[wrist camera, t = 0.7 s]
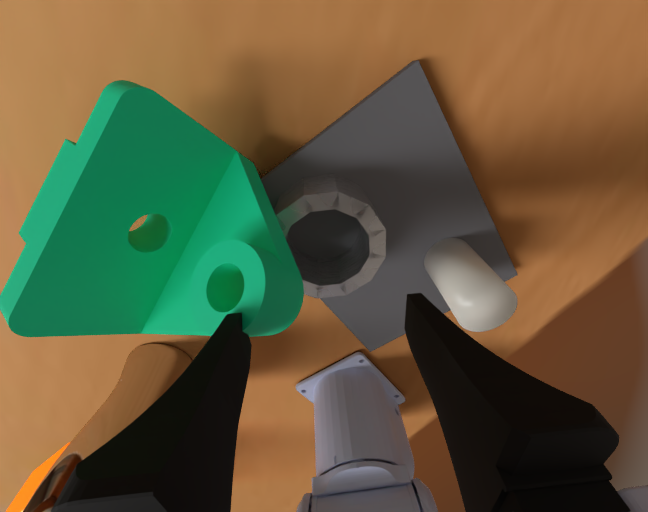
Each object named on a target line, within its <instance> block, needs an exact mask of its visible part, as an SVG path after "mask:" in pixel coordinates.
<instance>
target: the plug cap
mask: <svg viewBox="0 0 648 512" xmlns="http://www.w3.org/2000/svg"><path fill="white" fill-rule="evenodd" d="M424 266H425V269H426V271H427V272H428V274H429V276H430V277H431V279H432V280H433V282H434V284H435V285H436V287H437V288H438V290H439V292H440V293H441V295H442V296H443V298H444V300H445V301H446V303H447V305H448V306H449V308H450V309H451V311H452V313H453V314H454V316H455V317H456V319H457V321H458V322H459V324H460V325H461V326H462V327H463V328H465V329H467V330H469V331H474V332H482V331H488V330H491V329H494V328H496V327H498V326H500V325H502V324H503V323H505V322H506V321H507V320H508V319H509V318H510V317H511V316H512V315H513V313H514V312H515V310H516V307H517V296H516V294H515V293H514V292H513V291H512V290H511V288H510V287H509V286H508V285H507V284H506V283H505V282H504V281H503V280H502V279H501V278H500V277H499V276H498V275H497V274H496V273H495V272H494V271H493V270H492V269H491V268H490V267H489V266H488V265H487V263H486V262H485V261H484V260H483V259H482V258H481V257H480V256H479V255H478V254H477V253H476V252H475V251H474V250H473V249H472V248H471V247H470V246H469V245H468V244H467V243H466V242H465V241H464V240H462V239H459V238H447V239H443V240H441V241H439V242H437V243H436V244H434V245H433V246H432V247H431V248H430V249H429V250H428V252H427V254H426V256H425V259H424Z"/></svg>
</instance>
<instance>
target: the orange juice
mask: <svg viewBox="0 0 648 512" xmlns="http://www.w3.org/2000/svg"><path fill="white" fill-rule="evenodd" d="M68 445H69V443H68V444H67V445H65V446H64V447H63V448H62V449H60V450H59V451H58V452H57V453H56V454H54V455H53V456H52V457H51V458H49V459H48V460H47V461H46V462H44V463H43V464H42V465H41V466H39V467H38V468H37V469H36V470H34V471H33V472H32V474H31V475H30V477H29V478H28V480H27V481H26V483H25V484H24V486H23V487H22V489H21V490H20V491H19V493H18V494H17V496H16V497H15V499H14V500H13V502H12V503H11V505H10V506H9V508H8V509H7V511H6V512H23V510H24V508H25V507H26V505H27V503H28V502H29V500H30V498H31V497H32V495H33V494H34V492H35V490H36V489H37V487H38V486H39V484H40V483H41V481H42V480H43V478H44V477H45V475H46V474H47V472H48V471H49V469H50V468H51V467H52V465H53V464H54V462H55V461H56V460H57V459H58V457H59V456H60V455H61V453H62V452H63V451H64V450H65V448H66V447H67V446H68Z"/></svg>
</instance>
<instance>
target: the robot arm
mask: <svg viewBox="0 0 648 512" xmlns="http://www.w3.org/2000/svg"><path fill="white" fill-rule="evenodd" d="M404 329H405V332H406V336H407V339H408V343H409V346H410V349H411V352H412V354H413V356H414V359H415V361H416V363H417V366H418V368H419V370H420V372H421V375H422V377H423V379H424V382H425V384H426V386H427V389H428V391H429V393H430V395H431V398H432V400H433V403H434V406H435V409H436V412H437V415H438V418H439V421H440V424H441V427H442V430H443V433H444V437H445V440H446V443H447V446H448V450H449V453H450V456H451V460H452V463H453V466H454V470H455V473H456V477H457V481H458V484H459V488H460V491H461V495H462V499H463V503H464V507H465V510H466V512H648V485H645V486H636V487H629V488H624V489H622V490H619V491H616V490H615V488H614V487H613V486H612V484H611V483H610V482H609V480H611V479H612V475H611V474H610V472H609V471H608V470H607V468H606V467H605V466H604V462H605V461H606V460H607V459H608V457H609V456H610V455H611V454H612V453H613V452H614V450H615V449H616V447H617V446H618V443H619V435H618V434H617V433H616V431H615V430H614V429H613V428H612V426H611V425H610V424H609V423H608V422H607V421H606V419H605V418H604V417H603V416H602V415H601V413H600V412H599V411H598V410H597V409H596V408H595V407H594V406H593V405H592V404H590V403H587V402H585V401H583V400H581V399H578V398H576V397H574V396H572V395H569V394H567V393H565V392H563V391H560V390H558V389H556V388H554V387H552V386H550V385H548V384H546V383H544V382H542V381H540V380H538V379H536V378H534V377H532V376H530V375H529V374H527V373H525V372H523V371H522V370H520V369H518V368H516V367H515V366H513V365H511V364H509V363H508V362H506V361H505V360H503V359H501V358H500V357H498V356H497V355H495V354H494V353H492V352H491V351H489V350H488V349H486V348H485V347H483V346H482V345H481V344H479V343H478V342H477V341H475V340H474V339H473V338H471V337H470V336H469V335H468V334H466V333H465V332H464V331H463V330H461V329H460V328H459V327H458V326H457V325H456V324H454V323H453V322H452V321H451V320H450V319H449V318H447V317H446V316H445V315H444V314H443V313H442V312H441V311H440V310H439V309H438V308H437V307H436V306H434V305H433V304H432V303H431V302H430V301H429V300H428V299H427V298H426V297H425V296H424V295H423V294H422V293H414V294H407V300H406V313H405V326H404ZM250 359H251V342H250V339H249V335H248V334H246V333H244V332H243V331H242V313H231V314H227V315H226V316H225V318H224V319H223V320H222V322H221V323H220V325H219V326H218V328H217V329H216V331H215V332H214V333H213V335H212V336H211V338H210V339H209V340H208V342H207V343H206V344H205V346H204V347H203V348H202V350H201V351H200V352H199V354H198V355H197V356H196V357H195V359H194V360H193V361H192V362H191V364H190V365H189V366H188V367H187V368H186V370H185V371H184V372H183V373H182V374H181V375H180V377H179V378H178V379H177V380H176V381H175V382H174V383H173V384H172V385H171V386H170V387H169V388H168V390H167V391H166V392H165V393H164V394H163V395H162V396H161V397H159V398H158V399H157V400H156V401H155V402H154V403H153V404H152V405H151V406H150V407H149V408H148V409H147V410H146V411H144V412H143V413H142V414H141V415H140V416H139V417H138V418H136V419H135V420H134V421H133V422H132V423H131V424H129V425H128V426H127V427H126V428H124V429H123V430H122V431H121V432H120V433H118V434H117V435H116V436H115V437H113V438H112V439H111V440H109V441H108V442H107V443H105V444H104V445H103V446H101V447H100V448H98V449H97V450H96V451H94V452H93V453H92V454H90V455H89V456H88V457H86V458H85V459H83V460H82V461H81V462H79V463H78V464H77V465H76V467H75V468H74V470H73V472H72V474H71V475H70V477H69V479H68V480H67V482H66V484H65V486H64V488H63V490H62V491H61V493H60V495H59V497H58V499H57V501H56V502H55V504H54V506H53V508H52V510H51V512H230V510H231V496H232V482H233V470H234V459H235V449H236V439H237V430H238V424H239V418H240V413H241V408H242V403H243V398H244V393H245V389H246V384H247V379H248V374H249V368H250ZM361 359H362V360H361ZM296 390H297V391H298V392H300V393H301V394H302V395H303V396H305V397H306V398H307V399H308V400H310V401H311V402H312V403H313V404H314V421H315V454H316V477H313V478H312V493H306V494H304V496H303V498H302V500H301V502H300V503H299V505H298V507H297V511H296V512H438V510H437V507H436V504H435V501H434V499H433V496H432V494H431V492H430V490H429V488H428V487H427V486H426V485H425V484H423V483H422V482H421V480H420V479H418V478H416V479H413V475H414V460H413V456H412V452H411V449H410V445H409V441H408V438H407V434H406V431H405V427H404V424H403V420H402V417H401V413H400V410H399V406H398V405H399V404H402V403H403V402H405V397H404V396H403V394H402V393H401V392H400V391H399V390H398V389H397V388H396V387H395V386H394V385H393V384H392V383H391V382H390V381H389V380H388V379H387V378H386V377H385V376H384V375H383V374H382V373H381V372H380V371H379V370H378V369H377V368H376V367H375V365H374V364H373V363H372V362H371V361H370V360H369V359H368V358H367V357H366V356H365V355H364V354H363V353H362V352H356V353H354V354H352V355H350V356H349V357H347V358H345V359H343V360H341V361H339V362H337V363H335V364H333V365H332V366H330V367H328V368H326V369H324V370H322V371H320V372H318V373H316V374H315V375H313V376H311V377H309V378H307V379H305V380H303V381H301V382H299V383H298V384H297V385H296Z"/></svg>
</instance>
